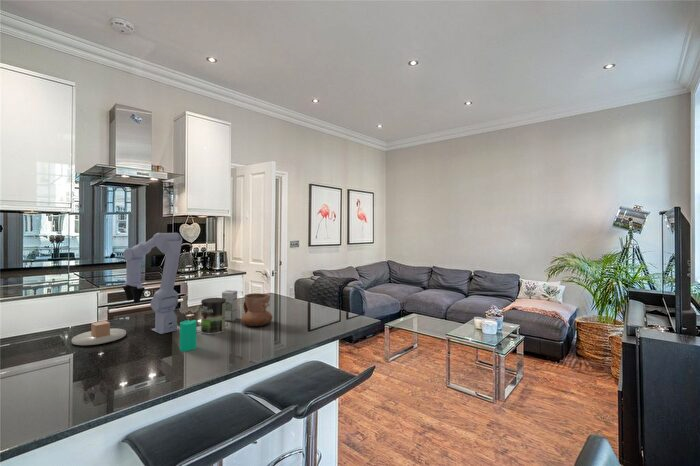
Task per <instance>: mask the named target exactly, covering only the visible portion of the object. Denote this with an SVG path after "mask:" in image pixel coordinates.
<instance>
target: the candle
mask: <svg viewBox="0 0 700 466" xmlns="http://www.w3.org/2000/svg"><path fill="white" fill-rule="evenodd" d="M197 321H198V320H196V319H192V320H190V319H189V317H188V318H187V319H186V320H183V321H180V322H179V351H180V350H181V351H180V352H185V351H186V352H191V351H190V350H192V351H194V350H193V349H195V348H196V349H197V324H198V323H197ZM196 349H195V350H196Z"/></svg>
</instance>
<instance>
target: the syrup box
mask: <svg viewBox="0 0 700 466" xmlns="http://www.w3.org/2000/svg"><path fill="white" fill-rule="evenodd" d="M221 298H224V299H226V302H225V322H234V321H236V319H237V318H238V290H231V289H230V290H227V289H226V290H224V291H222V292H221Z"/></svg>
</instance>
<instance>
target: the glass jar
mask: <svg viewBox="0 0 700 466" xmlns="http://www.w3.org/2000/svg"><path fill="white" fill-rule="evenodd" d="M200 302H201V303H200V304H201V313H200V314H201V315H200V316H201V319H200V321H201V325H200V333H201V334H202V333H204V334H203V335H217V333H218V334H221V332H222V333H224V332H225V331H226V321H225V302H226V299H224V298H222V297H207V298H203V299H201V301H200Z"/></svg>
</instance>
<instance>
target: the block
mask: <svg viewBox="0 0 700 466" xmlns="http://www.w3.org/2000/svg"><path fill="white" fill-rule="evenodd" d="M90 329H91V330H90V331H91V336H93V337H95V338H98V337H102V336H107V335H110V329H111V323H110V322H109V321H107V320H102V321H101V320H100V321H97V322H91V324H90Z"/></svg>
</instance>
